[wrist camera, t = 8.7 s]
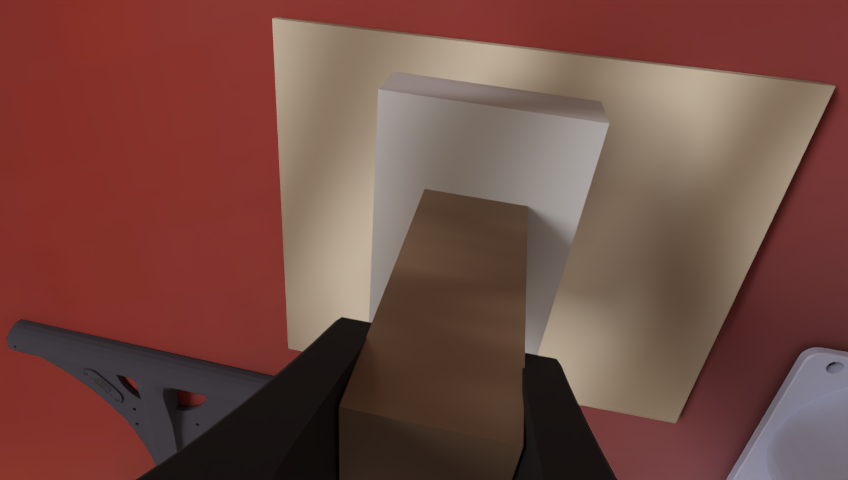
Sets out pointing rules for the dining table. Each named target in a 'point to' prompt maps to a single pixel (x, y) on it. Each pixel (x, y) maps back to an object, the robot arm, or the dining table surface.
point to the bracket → (143, 382)
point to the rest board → (603, 210)
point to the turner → (462, 272)
